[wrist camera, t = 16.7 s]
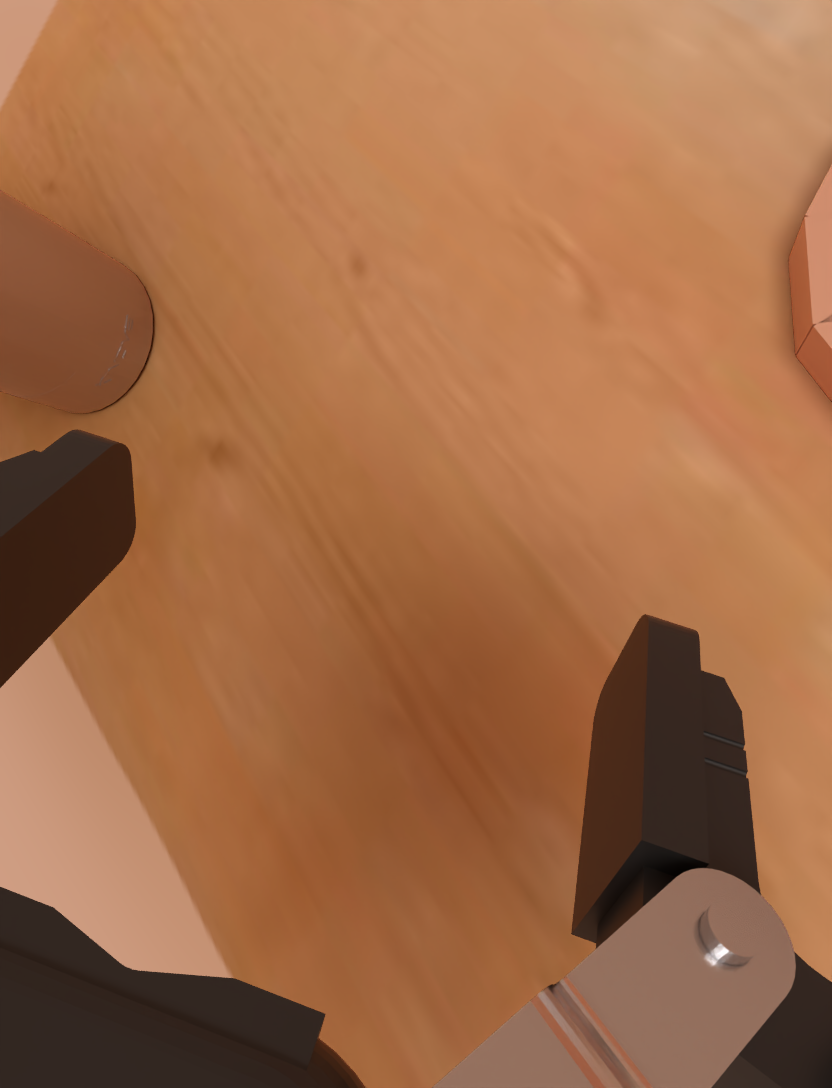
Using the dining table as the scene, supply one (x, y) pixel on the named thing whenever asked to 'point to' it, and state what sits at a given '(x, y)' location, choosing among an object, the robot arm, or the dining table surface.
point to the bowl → (814, 288)
